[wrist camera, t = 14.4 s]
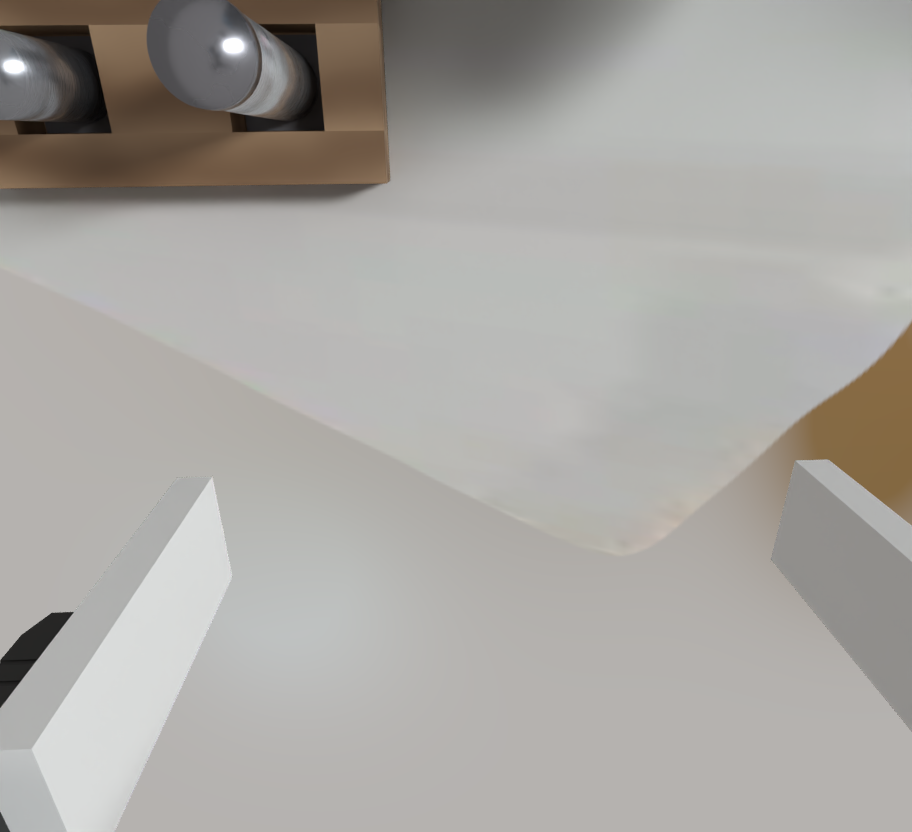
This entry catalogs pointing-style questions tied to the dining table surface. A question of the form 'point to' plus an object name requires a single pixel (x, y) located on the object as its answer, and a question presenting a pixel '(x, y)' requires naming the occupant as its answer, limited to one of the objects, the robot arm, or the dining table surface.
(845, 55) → the dining table surface
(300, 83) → the stud
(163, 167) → the socket board
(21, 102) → the seated stud
